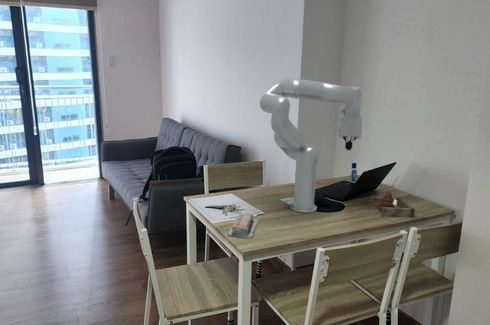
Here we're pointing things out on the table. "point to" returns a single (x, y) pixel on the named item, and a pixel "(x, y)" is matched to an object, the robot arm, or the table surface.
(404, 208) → the walnut bay
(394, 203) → the poop emoji
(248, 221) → the packaged product
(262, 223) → the table surface
